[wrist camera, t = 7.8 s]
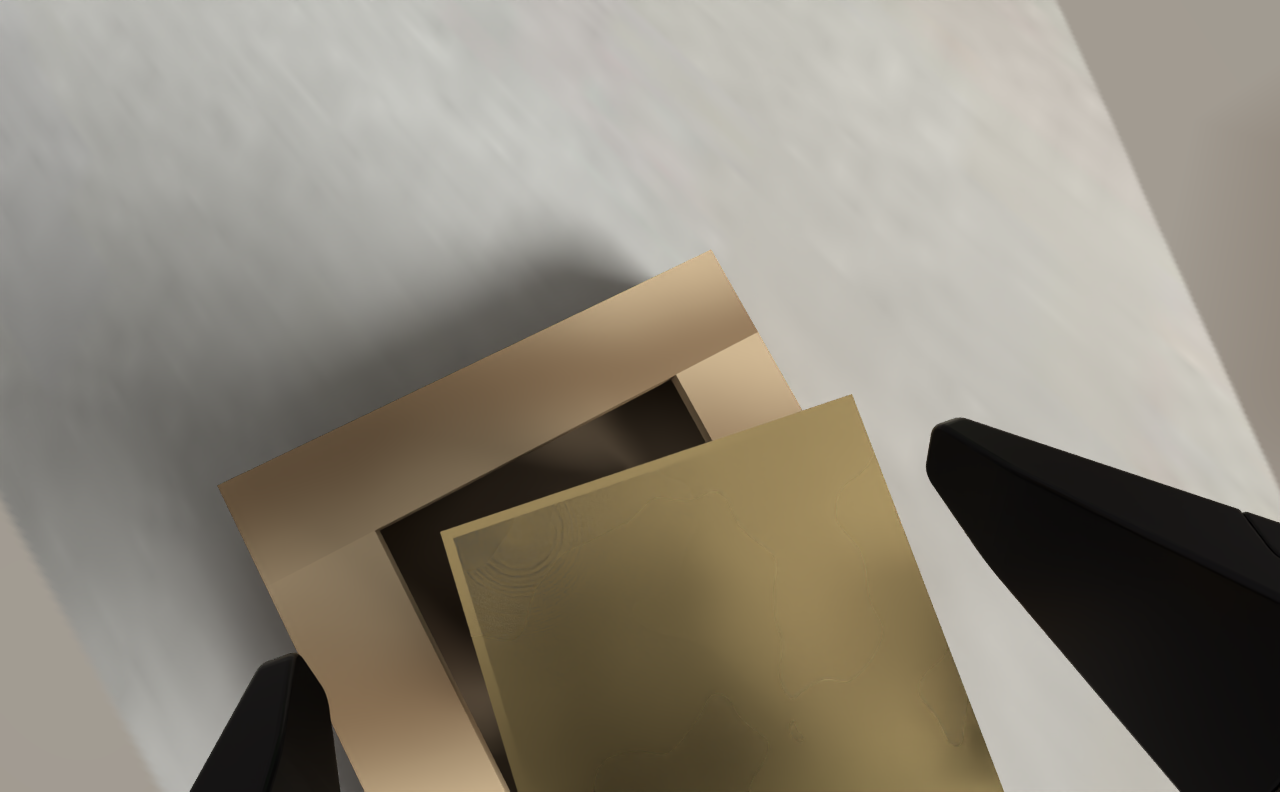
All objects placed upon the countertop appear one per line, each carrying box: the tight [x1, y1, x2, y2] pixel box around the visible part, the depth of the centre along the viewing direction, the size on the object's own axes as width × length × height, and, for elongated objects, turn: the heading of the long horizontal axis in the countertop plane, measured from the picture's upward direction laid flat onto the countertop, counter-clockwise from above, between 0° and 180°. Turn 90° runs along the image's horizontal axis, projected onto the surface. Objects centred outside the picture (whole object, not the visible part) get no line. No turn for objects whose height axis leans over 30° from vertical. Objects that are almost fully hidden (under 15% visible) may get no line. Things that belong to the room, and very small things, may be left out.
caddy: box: [217, 250, 802, 792], centre depth 19 cm, size 13×13×4 cm
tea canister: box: [440, 394, 1004, 792], centre depth 14 cm, size 5×5×13 cm
